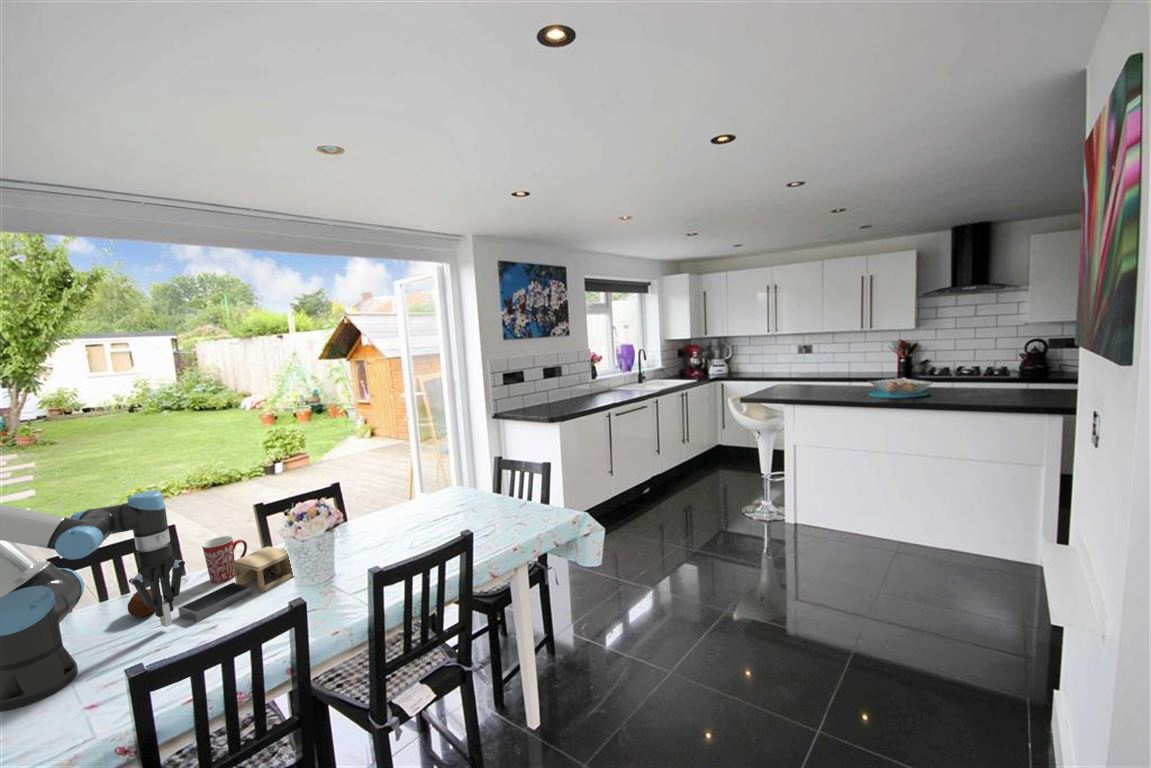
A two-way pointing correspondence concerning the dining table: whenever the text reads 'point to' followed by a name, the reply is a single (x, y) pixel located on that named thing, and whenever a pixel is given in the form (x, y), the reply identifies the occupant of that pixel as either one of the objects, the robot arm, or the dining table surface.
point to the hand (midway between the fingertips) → (166, 624)
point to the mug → (221, 557)
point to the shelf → (263, 567)
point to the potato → (139, 605)
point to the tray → (214, 602)
